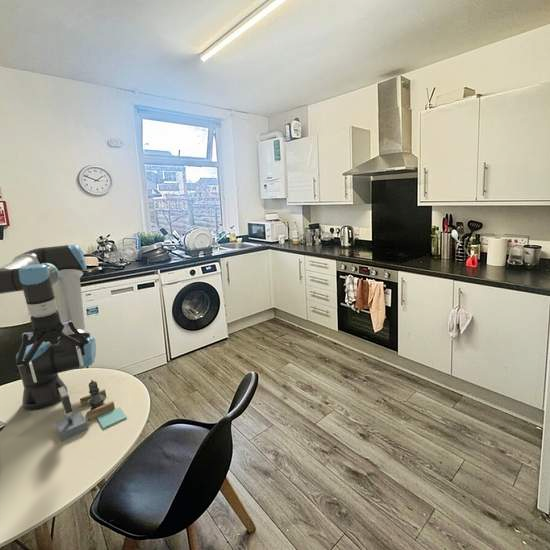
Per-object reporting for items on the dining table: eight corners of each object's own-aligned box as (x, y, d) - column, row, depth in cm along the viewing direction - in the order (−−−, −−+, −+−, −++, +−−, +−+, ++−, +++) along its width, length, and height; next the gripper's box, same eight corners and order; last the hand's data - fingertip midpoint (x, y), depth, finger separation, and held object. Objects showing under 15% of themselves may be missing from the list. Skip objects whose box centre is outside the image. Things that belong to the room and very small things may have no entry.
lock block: (57, 429, 119) (55, 421, 119) (82, 418, 124) (80, 411, 123) (61, 441, 113) (59, 433, 113) (87, 429, 118) (86, 421, 118)
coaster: (97, 418, 124) (96, 417, 124) (119, 408, 129) (119, 407, 129) (103, 429, 118) (102, 427, 118) (126, 418, 123) (126, 416, 123)
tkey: (65, 416, 120) (57, 388, 117) (71, 414, 121) (64, 386, 118) (69, 427, 114) (62, 398, 111) (76, 425, 115) (68, 395, 112)
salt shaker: (99, 413, 127) (93, 384, 124) (85, 411, 128) (79, 383, 125) (109, 403, 132) (103, 376, 129) (96, 402, 134) (90, 375, 130)
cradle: (81, 405, 132) (79, 398, 131) (105, 395, 138) (104, 388, 137) (89, 420, 123) (87, 413, 122) (115, 409, 128) (113, 402, 128)
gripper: (-5, 329, 97) (14, 393, 102) (90, 305, 112) (102, 362, 118) (-7, 321, 102) (12, 383, 108) (84, 300, 118) (96, 354, 124)
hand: (59, 372), depth 113 cm, fingers open, 13 cm apart
